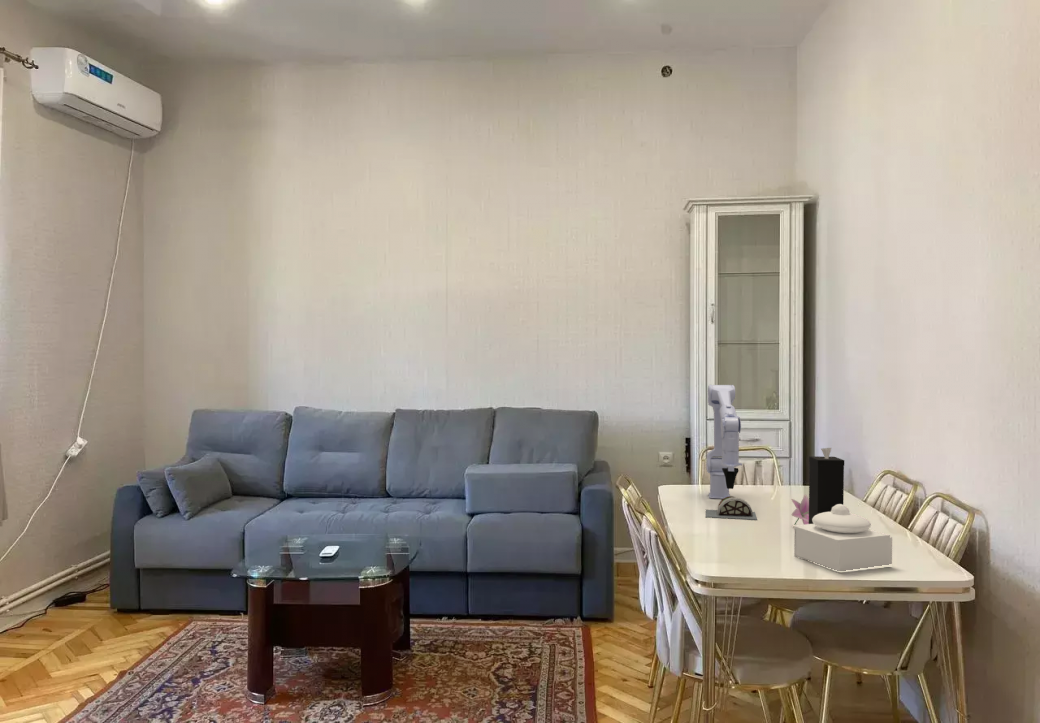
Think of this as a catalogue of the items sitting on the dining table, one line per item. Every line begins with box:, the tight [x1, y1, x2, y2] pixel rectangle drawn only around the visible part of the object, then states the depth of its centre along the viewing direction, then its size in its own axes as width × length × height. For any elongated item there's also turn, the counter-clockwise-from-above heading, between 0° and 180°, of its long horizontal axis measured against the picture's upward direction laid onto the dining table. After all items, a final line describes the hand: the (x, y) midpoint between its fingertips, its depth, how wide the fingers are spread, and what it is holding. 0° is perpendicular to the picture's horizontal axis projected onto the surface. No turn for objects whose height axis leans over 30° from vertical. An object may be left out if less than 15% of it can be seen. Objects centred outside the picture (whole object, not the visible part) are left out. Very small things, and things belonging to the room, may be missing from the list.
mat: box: [705, 509, 758, 521], centre depth 270 cm, size 12×17×1 cm
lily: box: [790, 494, 809, 525], centre depth 252 cm, size 12×12×10 cm
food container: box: [716, 495, 754, 516], centre depth 271 cm, size 12×6×10 cm
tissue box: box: [808, 447, 845, 524], centre depth 236 cm, size 8×8×28 cm
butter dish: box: [792, 504, 893, 571], centre depth 211 cm, size 18×18×16 cm
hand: (730, 488), depth 277 cm, fingers closed
